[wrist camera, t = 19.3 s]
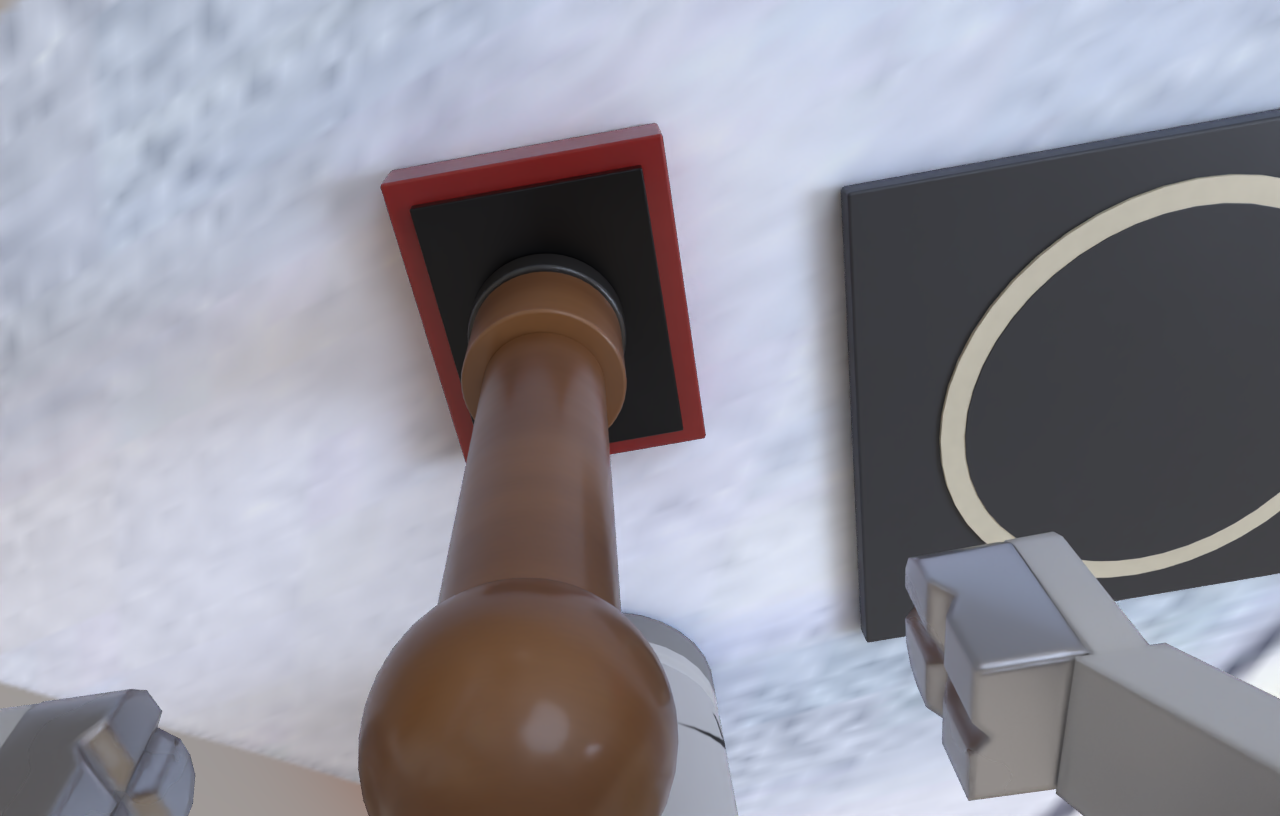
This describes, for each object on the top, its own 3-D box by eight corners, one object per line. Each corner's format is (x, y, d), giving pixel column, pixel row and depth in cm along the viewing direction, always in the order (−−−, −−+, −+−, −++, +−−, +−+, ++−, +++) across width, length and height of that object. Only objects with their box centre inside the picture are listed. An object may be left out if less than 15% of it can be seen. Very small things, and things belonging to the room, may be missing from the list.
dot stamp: (453, 266, 17) (263, 798, 7) (610, 239, 17) (668, 732, 7) (491, 404, 19) (386, 1013, 8) (635, 379, 19) (716, 959, 8)
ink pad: (390, 169, 18) (375, 188, 16) (657, 122, 18) (664, 136, 16) (475, 452, 21) (468, 487, 20) (699, 413, 21) (708, 445, 20)
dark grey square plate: (839, 186, 19) (849, 194, 18) (1537, 62, 18) (1572, 66, 18) (860, 629, 25) (868, 646, 24) (1379, 541, 25) (1401, 557, 24)
